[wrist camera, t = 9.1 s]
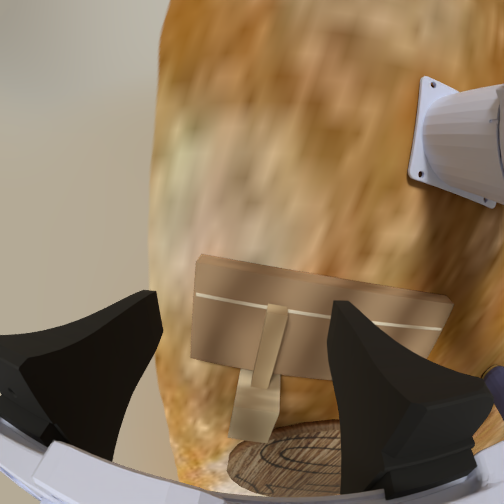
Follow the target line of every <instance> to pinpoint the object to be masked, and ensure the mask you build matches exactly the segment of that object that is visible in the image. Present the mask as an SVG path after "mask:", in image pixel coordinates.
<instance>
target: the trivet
mask: <svg viewBox="0 0 504 504" xmlns="http://www.w3.org/2000/svg"><path fill="white" fill-rule="evenodd" d="M227 472H228V474H229V476H230V478H231V479H232V480H233V481H234V482H235V483H237V484H238V485H239V486H241V487H243V488H245V489H247V490H249V491H252V492H254V493H258V494H262V495H265V496H269V497H319V496H333V495H338V494H340V487H341V436H340V420H335V419H332V420H324V421H314V422H304V423H299V424H294V425H289V426H284V427H279V428H275V429H273V430H272V433H271V435H270V437H269V440H268V442H267V443H261V442H253V441H246V440H245V441H243V442H241V443H239V444H238V445H237V446H236V447H235V448H234V449H233V450H232V452H231V453H230V455H229V461H228V467H227Z"/></svg>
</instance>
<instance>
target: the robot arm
mask: <svg viewBox="0 0 504 504" xmlns="http://www.w3.org/2000/svg"><path fill="white" fill-rule="evenodd" d="M431 83H432V84H433V85H434V88H432V86H431ZM420 171H421V172H422V176H421V177H419V176H418V173H419V172H420ZM408 175H409V177H410V178H412V179H414V180H417V181H420V182H423V183H426V184H429V185H432V186H435V187H438V188H441V189H444V190H446V191H449V192H452V193H454V194H457V195H460V196H462V197H465V198H467V199H470V200H472V201H475V202H477V203H480V204H482V205H484V206H487V207H489V208H492V209H493V208H494V207H495V205H496V202H497V203H500V204H503V205H504V84H500V85H494V86H489V87H483V88H478V89H473V90H468V91H464V92H458V91H456V90H454V89H452V88H451V87H449V86H447V85H445V84H442V83H440V82H438V81H436V80H434V79H432V78H430V77H427V76H425V77H422V78H421V80H420V89H419V100H418V109H417V117H416V125H415V132H414V139H413V145H412V151H411V156H410V162H409V167H408ZM484 198H485V200H484ZM162 333H163V327H162V321H161V316H160V310H159V305H158V299H157V293H156V291H149V290H142V291H140V292H137V293H135V294H133V295H130V296H128V297H126V298H124V299H122V300H120V301H118V302H116V303H114V304H112V305H110V306H108V307H107V308H104V309H102V310H100V311H98V312H96V313H94V314H92V315H89V316H87V317H85V318H82V319H80V320H77V321H74V322H71V323H69V324H66V325H63V326H59V327H55V328H51V329H47V330H43V331H38V332H32V333H26V334H15V335H0V393H1V394H2V395H1V396H0V471H1V472H2V473H4V474H5V475H6V476H7V477H8V478H10V479H11V480H12V481H13V482H15V483H16V484H17V485H18V486H20V487H21V488H22V489H24V490H25V491H26V492H28V493H29V494H31V495H32V496H33V497H35V498H36V499H38V500H39V501H41V502H40V504H504V441H500V442H498V443H496V444H494V445H492V446H490V447H487V448H485V449H483V450H481V451H479V452H478V453H476V454H475V455H473V453H472V450H471V448H473V447H474V446H475V442H474V440H473V437H472V436H473V435H474V433H475V432H476V431H477V430H478V428H479V427H480V426H481V425H482V423H483V422H484V421H485V419H486V418H487V417H488V415H489V413H490V412H491V409H492V407H493V404H494V397H493V395H492V393H491V392H490V390H489V388H488V387H487V385H486V383H485V382H484V380H483V379H482V378H478V377H474V376H470V375H467V374H463V373H459V372H456V371H453V370H451V369H448V368H445V367H443V366H440V365H438V364H436V363H433V362H431V361H429V360H427V359H425V358H423V357H421V356H419V355H418V354H416V353H414V352H412V351H411V350H409V349H408V348H406V347H404V346H403V345H401V344H400V343H398V342H397V341H395V340H394V339H393V338H391V337H390V336H389V335H387V334H386V333H385V332H384V331H382V330H381V329H380V328H379V327H377V326H376V325H375V324H374V323H373V322H372V321H371V320H369V319H368V318H367V317H366V316H365V315H364V314H363V313H362V312H361V311H360V310H359V309H357V308H356V307H355V306H354V305H353V304H352V303H351V302H349V301H345V300H333V306H332V313H331V319H330V325H329V330H328V336H327V354H328V363H329V368H330V372H331V377H332V381H333V386H334V391H335V395H336V400H337V405H338V411H339V420H340V436H341V487H340V495H333V496H319V497H262V496H248V495H237V494H228V493H220V492H214V491H207V490H204V489H202V488H199V487H195V486H192V485H188V484H185V483H181V482H178V481H174V480H171V479H166V478H162V477H158V476H154V475H151V474H148V473H144V472H141V471H138V470H134V469H131V468H128V467H125V466H122V465H119V464H117V463H114V462H112V460H113V455H114V450H115V446H116V441H117V438H118V434H119V430H120V427H121V424H122V421H123V418H124V415H125V412H126V409H127V407H128V404H129V401H130V398H131V396H132V394H133V391H134V390H135V388H136V386H137V384H138V382H139V380H140V378H141V377H142V375H143V373H144V371H145V369H146V368H147V366H148V364H149V362H150V360H151V359H152V357H153V355H154V353H155V351H156V349H157V347H158V344H159V342H160V339H161V336H162Z"/></svg>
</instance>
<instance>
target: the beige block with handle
mask: <svg viewBox="0 0 504 504" xmlns="http://www.w3.org/2000/svg"><path fill="white" fill-rule="evenodd" d="M287 318H288V307H286V306H280V305H274V304H268V306H267V311H266V316H265V320H264V325H263V329H262V334H261V339H260V343H259V348H258V352H257V357H256V361H255V365H254V370H248V369H242V368H241V370H240V375H239V380H238V386H237V391H236V396H235V401H234V407H233V412H232V417H231V422H230V428H229V433H228V438H234V439H240V440H246V441H253V442H261V443H267V442H268V440H269V437H270V435H271V433H272V430H273V428H274V425H275V423H276V420H277V418H278V415H279V409H280V374H273V373H272V372H273V369H274V365H275V362H276V358H277V355H278V351H279V348H280V344H281V340H282V337H283V333H284V329H285V325H286V322H287Z"/></svg>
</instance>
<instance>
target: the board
mask: <svg viewBox="0 0 504 504" xmlns="http://www.w3.org/2000/svg"><path fill="white" fill-rule="evenodd" d="M333 300H345V301H349V302H351V303H352V304H353V305H354V306H355V307H356V308H357V309H359V310H360V311H361V312H362V313H363V314H364V315H365V316H366V317H367V318H368V319H369V320H371V321H372V322H373V323H374V324H375V325H376V326H377V327H379V328H380V329H381V330H382V331H384V332H385V333H386V334H387V335H389V336H390V337H391V338H393V339H394V340H395V341H397V342H398V343H400V344H401V345H403V346H404V347H406V348H408V349H409V350H411V351H412V352H414V353H416V354H418V355H419V356H421V357H423V358H425V359H427V357H428V356H429V354H430V352H431V350H432V348H433V347H434V345H435V343H436V341H437V339H438V337H439V335H440V333H441V331H442V329H443V327H444V325H445V323H446V321H447V319H448V317H449V315H450V313H451V311H452V308H453V306H454V304H453V302H452V301H451V300H450V299H449V298H448V297H447V296H446V295H439V294H433V293H427V292H420V291H414V290H408V289H402V288H395V287H389V286H383V285H377V284H371V283H365V282H359V281H353V280H347V279H341V278H335V277H329V276H323V275H317V274H311V273H305V272H300V271H294V270H288V269H282V268H277V267H271V266H265V265H260V264H254V263H248V262H243V261H237V260H231V259H226V258H220V257H215V256H209V255H204V254H201V256H200V257H199V259H198V260H197V261H196V268H195V281H194V296H193V313H192V333H191V358H193V359H197V360H202V361H206V362H211V363H216V364H221V365H226V366H231V367H236V368H242V369H248V370H254V365H255V361H256V357H257V352H258V348H259V343H260V339H261V334H262V329H263V325H264V320H265V316H266V311H267V306H268V304H274V305H280V306H286V307H288V318H287V322H286V325H285V329H284V333H283V337H282V340H281V344H280V348H279V351H278V355H277V358H276V362H275V365H274V369H273V372H272V373H273V374H280V375H287V376H295V377H304V378H313V379H324V380H332V377H331V372H330V368H329V363H328V354H327V336H328V330H329V325H330V319H331V313H332V306H333Z"/></svg>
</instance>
